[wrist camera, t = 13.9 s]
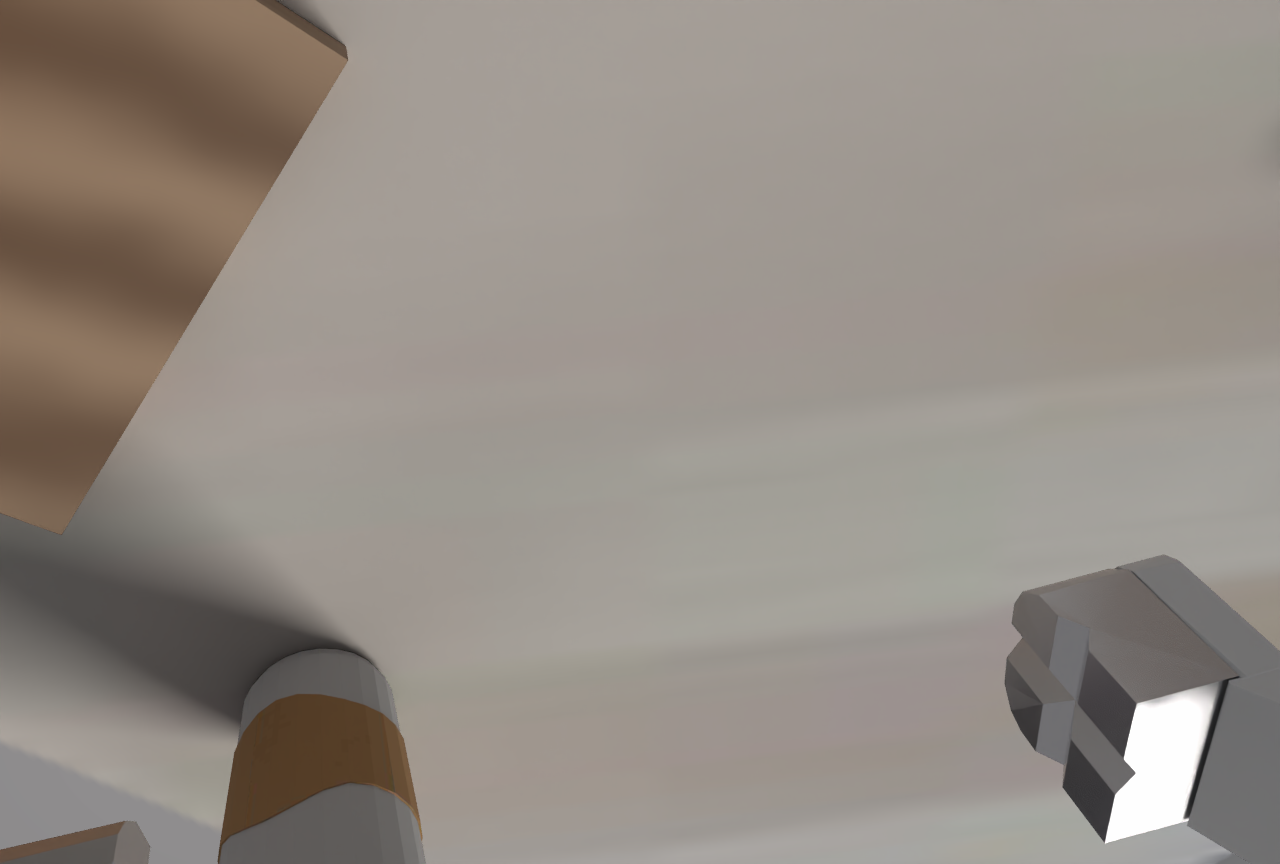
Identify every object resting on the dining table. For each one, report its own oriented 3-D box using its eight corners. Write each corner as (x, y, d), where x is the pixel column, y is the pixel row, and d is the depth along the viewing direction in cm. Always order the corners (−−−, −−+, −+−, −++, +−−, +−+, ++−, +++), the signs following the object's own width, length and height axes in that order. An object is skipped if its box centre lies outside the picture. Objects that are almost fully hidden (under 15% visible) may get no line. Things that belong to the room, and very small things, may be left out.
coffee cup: (285, 792, 51) (280, 1121, 39) (178, 682, 47) (135, 1016, 34) (446, 713, 51) (493, 1015, 39) (356, 595, 47) (377, 896, 34)
